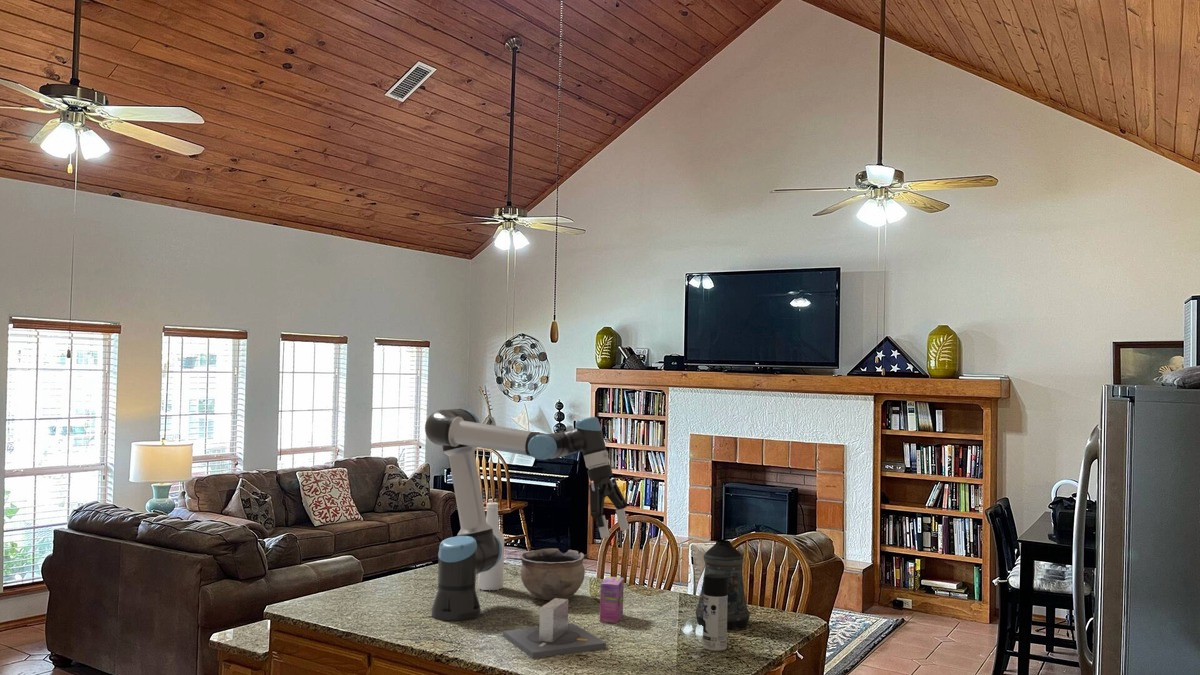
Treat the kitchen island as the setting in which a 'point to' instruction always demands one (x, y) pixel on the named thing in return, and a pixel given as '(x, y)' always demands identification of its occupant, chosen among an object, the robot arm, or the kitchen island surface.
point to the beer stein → (728, 563)
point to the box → (611, 599)
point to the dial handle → (553, 620)
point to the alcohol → (495, 574)
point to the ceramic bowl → (552, 573)
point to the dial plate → (564, 644)
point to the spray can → (715, 612)
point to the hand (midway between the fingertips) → (615, 533)
